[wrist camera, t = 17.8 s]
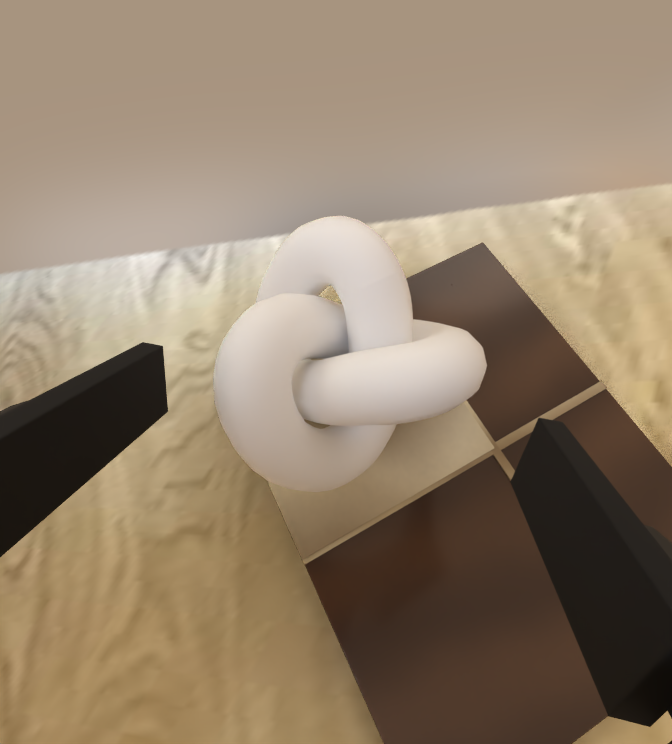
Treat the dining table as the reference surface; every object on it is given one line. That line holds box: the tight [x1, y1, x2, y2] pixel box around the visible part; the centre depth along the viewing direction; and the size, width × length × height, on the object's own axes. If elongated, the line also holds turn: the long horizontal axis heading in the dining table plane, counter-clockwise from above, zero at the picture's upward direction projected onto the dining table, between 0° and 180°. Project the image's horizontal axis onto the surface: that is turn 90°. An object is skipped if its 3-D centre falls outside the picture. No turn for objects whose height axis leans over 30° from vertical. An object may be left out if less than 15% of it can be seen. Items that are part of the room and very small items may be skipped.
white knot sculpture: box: [213, 216, 487, 492], centre depth 17 cm, size 11×12×9 cm
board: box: [267, 243, 672, 744], centre depth 20 cm, size 24×20×2 cm
